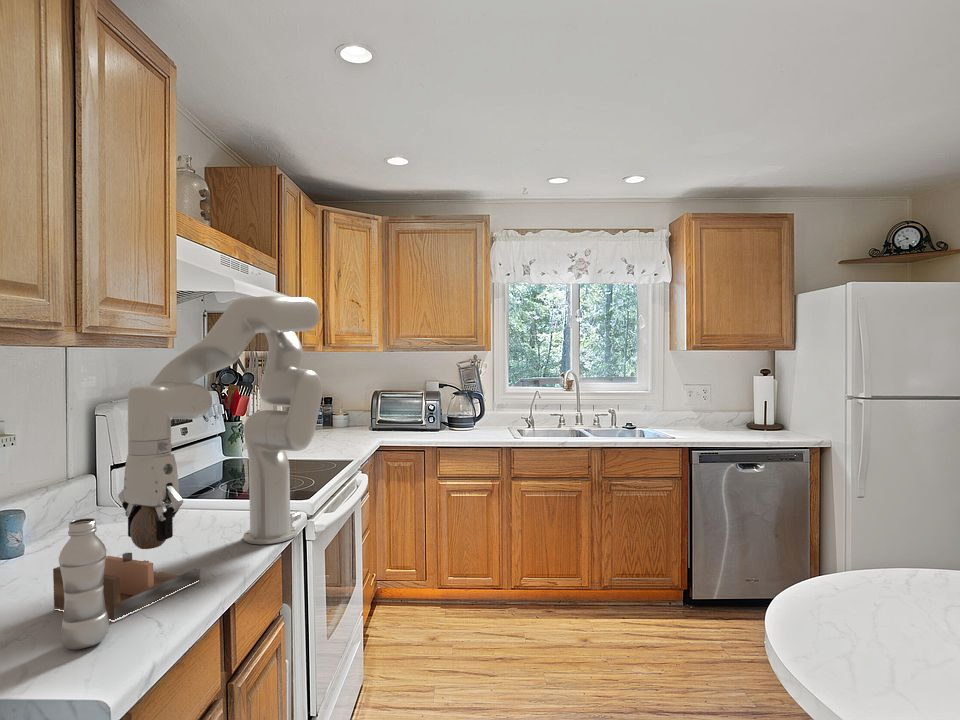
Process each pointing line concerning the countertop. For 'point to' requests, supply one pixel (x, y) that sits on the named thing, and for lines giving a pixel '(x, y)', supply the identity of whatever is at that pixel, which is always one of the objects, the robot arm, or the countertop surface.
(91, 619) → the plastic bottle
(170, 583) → the pusher lane
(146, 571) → the pusher plate
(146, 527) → the vase
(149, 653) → the countertop surface
